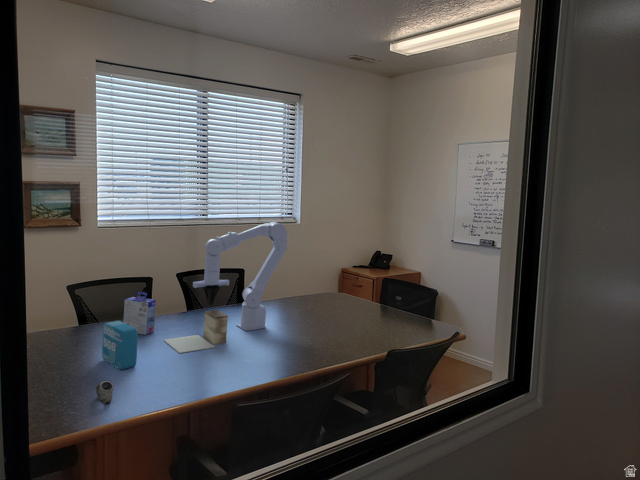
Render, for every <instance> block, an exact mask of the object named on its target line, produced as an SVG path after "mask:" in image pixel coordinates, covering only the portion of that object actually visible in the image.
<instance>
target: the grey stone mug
mask: <svg viewBox="0 0 640 480" xmlns="http://www.w3.org/2000/svg"><path fill="white" fill-rule="evenodd" d="M114 387H115V385H114V384H113V383H112V382H111V381H109V380H104V381H101V382H99V383H98V384H97V386H96V389H95V391H96V396H97V397H96V398H98V400H99V402H101V401H102V402H101V403H103V404H104V403H105V404H108V403H111V402H112V401H113V392H114Z"/></svg>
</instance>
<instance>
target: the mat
mask: <svg viewBox="0 0 640 480" xmlns="http://www.w3.org/2000/svg"><path fill="white" fill-rule="evenodd" d="M163 342H164V343H166V344H167V345H168V346H169V347H171V348H172V349H173V350H174V351H176V352H177V353H178V354H184V353H185V354H186V353H191V352H195V351H203V350H208V349H213V348H216V346H215V344H214V345H213V344H212V343H210V342H209V341H207V340H206V339H204V338H203V337H202V336H200V335H199V334H195V335H194V334H193V335H187V336H181V337H174V338H168V339H167V338H166V339H163Z"/></svg>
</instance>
